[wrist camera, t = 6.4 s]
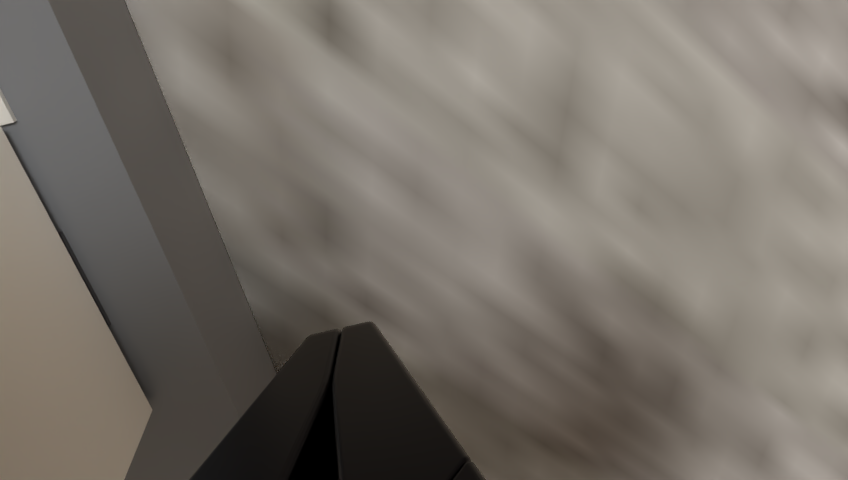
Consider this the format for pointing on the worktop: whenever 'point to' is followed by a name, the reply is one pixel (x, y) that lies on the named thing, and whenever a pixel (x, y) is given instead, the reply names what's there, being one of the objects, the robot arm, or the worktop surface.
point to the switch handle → (56, 354)
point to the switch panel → (131, 221)
